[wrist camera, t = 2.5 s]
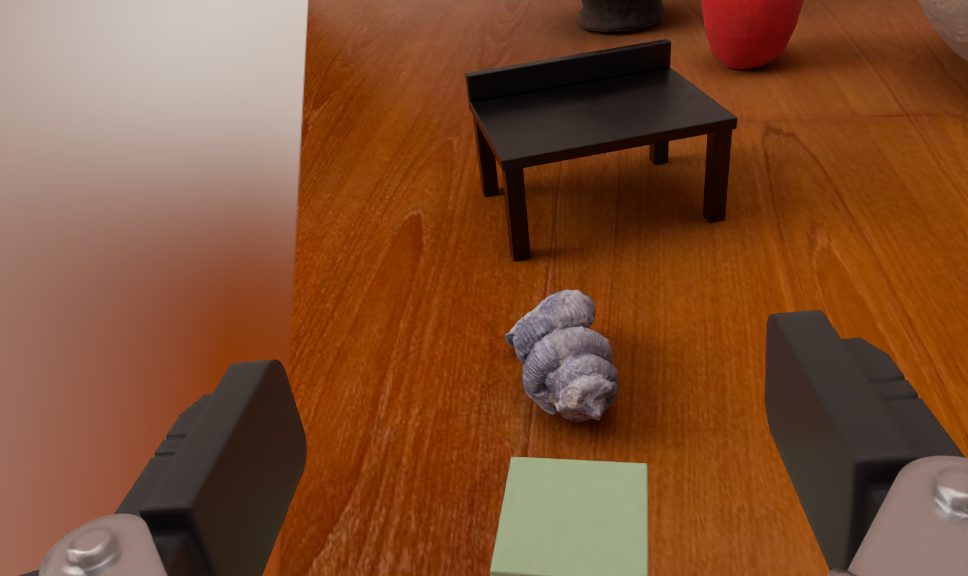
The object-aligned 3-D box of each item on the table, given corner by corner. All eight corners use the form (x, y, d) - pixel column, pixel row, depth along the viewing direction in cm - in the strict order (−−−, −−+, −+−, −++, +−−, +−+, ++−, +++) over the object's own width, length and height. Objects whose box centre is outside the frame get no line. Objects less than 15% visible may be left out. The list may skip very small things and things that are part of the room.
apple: (739, 88, 76) (749, -29, 70) (678, 64, 83) (682, -43, 77) (817, 65, 79) (832, -49, 73) (751, 43, 86) (761, -62, 80)
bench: (512, 263, 54) (498, 131, 48) (479, 189, 64) (464, 73, 58) (729, 220, 55) (740, 88, 50) (664, 155, 65) (667, 38, 60)
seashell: (531, 351, 47) (595, 469, 39) (472, 309, 44) (528, 429, 36) (594, 291, 46) (673, 401, 38) (538, 244, 43) (611, 353, 35)
